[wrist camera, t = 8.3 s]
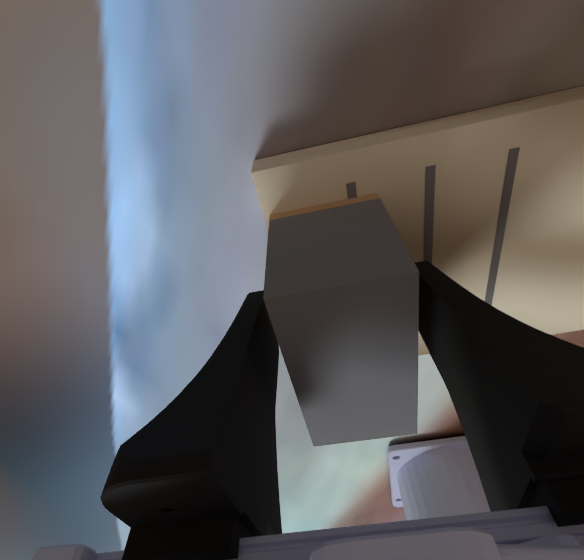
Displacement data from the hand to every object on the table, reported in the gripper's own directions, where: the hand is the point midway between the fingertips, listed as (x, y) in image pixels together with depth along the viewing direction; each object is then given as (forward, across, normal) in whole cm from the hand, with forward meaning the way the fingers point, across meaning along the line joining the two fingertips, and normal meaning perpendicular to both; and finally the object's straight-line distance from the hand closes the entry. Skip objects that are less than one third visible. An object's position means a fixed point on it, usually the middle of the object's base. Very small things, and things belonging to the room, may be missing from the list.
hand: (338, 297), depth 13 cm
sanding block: (+1, 0, 0) cm, 1 cm away
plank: (+2, -4, 0) cm, 5 cm away
